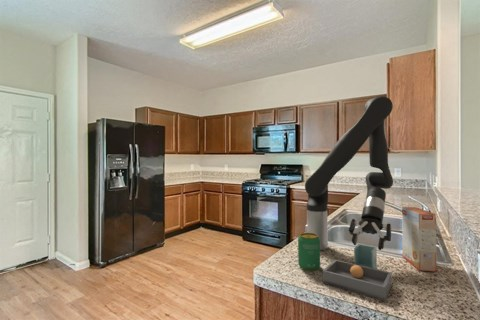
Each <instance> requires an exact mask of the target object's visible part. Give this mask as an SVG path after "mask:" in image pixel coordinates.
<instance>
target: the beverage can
mask: <svg viewBox="0 0 480 320" xmlns="http://www.w3.org/2000/svg"><path fill="white" fill-rule="evenodd" d="M297 253H298V254H297V255H298V256H297V258H298V266H299V268H300V269H301V268H302V270H303V269H304V270H303V271H307V270H308V271H307V272H314V271H315V270H316V271H319V269H320V267H321V250H320V239H319V237H318V235H317V234H314V233H305V232H302V233H299V236H298V238H297Z"/></svg>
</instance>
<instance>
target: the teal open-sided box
mask: <svg viewBox="0 0 480 320" xmlns="http://www.w3.org/2000/svg"><path fill="white" fill-rule="evenodd" d="M353 251H354V252H353V254H354V255H353V256H354V259H353V260H354V262H353V264H357V265H361V266H365V267H370V268H374V269H378V266H377V265H378V263H377V262H378V261H377V259H378V258H377V256H378V255H377V253H378V252H377V246H369V245H366V244H356V245H355V247H354V248H353Z"/></svg>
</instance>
